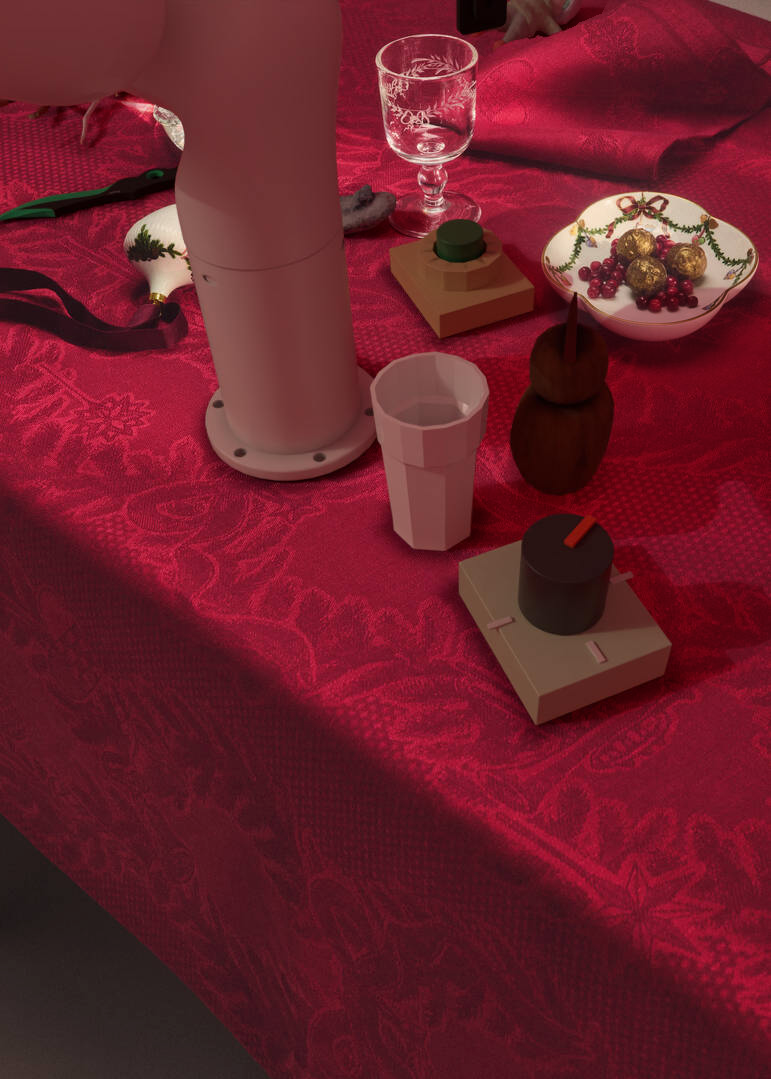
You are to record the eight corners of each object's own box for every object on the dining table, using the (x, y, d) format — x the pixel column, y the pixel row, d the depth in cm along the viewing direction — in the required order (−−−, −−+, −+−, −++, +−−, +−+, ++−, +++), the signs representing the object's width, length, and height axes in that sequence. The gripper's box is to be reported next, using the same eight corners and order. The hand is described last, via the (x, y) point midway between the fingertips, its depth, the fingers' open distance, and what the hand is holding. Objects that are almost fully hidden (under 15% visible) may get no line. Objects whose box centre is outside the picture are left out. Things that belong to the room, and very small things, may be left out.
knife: (227, 145, 97) (238, 169, 94) (228, 152, 97) (240, 177, 94) (-16, 197, 93) (-13, 224, 90) (-13, 205, 93) (-10, 232, 90)
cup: (362, 537, 63) (347, 406, 55) (414, 471, 67) (407, 340, 59) (454, 575, 61) (453, 444, 53) (502, 505, 65) (508, 372, 56)
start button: (429, 245, 78) (428, 225, 77) (470, 233, 79) (471, 213, 78) (448, 269, 76) (448, 249, 75) (490, 256, 77) (491, 236, 75)
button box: (390, 271, 82) (388, 228, 79) (478, 246, 84) (478, 203, 81) (439, 338, 76) (438, 295, 73) (533, 310, 78) (536, 266, 75)
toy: (453, -8, 105) (547, -68, 110) (442, 32, 110) (532, -26, 115) (525, 60, 104) (617, -3, 109) (511, 98, 109) (599, 36, 114)
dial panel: (450, 596, 60) (450, 562, 58) (583, 548, 62) (587, 514, 59) (527, 729, 54) (530, 698, 51) (672, 672, 55) (681, 639, 53)
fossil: (292, 210, 85) (311, 174, 88) (304, 243, 88) (322, 208, 90) (383, 208, 82) (399, 171, 85) (393, 242, 85) (408, 205, 87)
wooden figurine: (576, 522, 63) (601, 330, 52) (495, 491, 65) (501, 301, 54) (618, 456, 67) (650, 263, 55) (540, 429, 69) (555, 238, 58)
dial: (574, 650, 53) (583, 594, 49) (500, 607, 55) (503, 550, 52) (621, 593, 55) (632, 535, 52) (548, 554, 58) (554, 496, 54)
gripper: (331, -374, 55) (357, -22, 69) (461, -331, 44) (462, 76, 58) (454, -392, 57) (456, -44, 70) (610, -354, 46) (576, 48, 59)
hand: (459, 7), depth 64 cm, fingers open, 5 cm apart
